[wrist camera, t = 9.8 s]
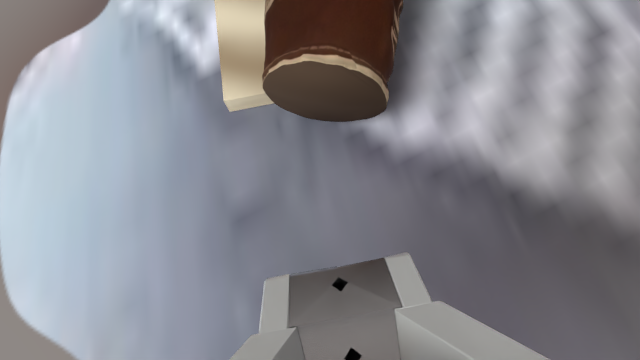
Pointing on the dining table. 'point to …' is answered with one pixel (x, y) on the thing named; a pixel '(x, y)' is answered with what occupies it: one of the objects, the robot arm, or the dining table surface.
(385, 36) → the coffee cup
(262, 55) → the beech board
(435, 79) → the dining table surface
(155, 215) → the dining table surface
